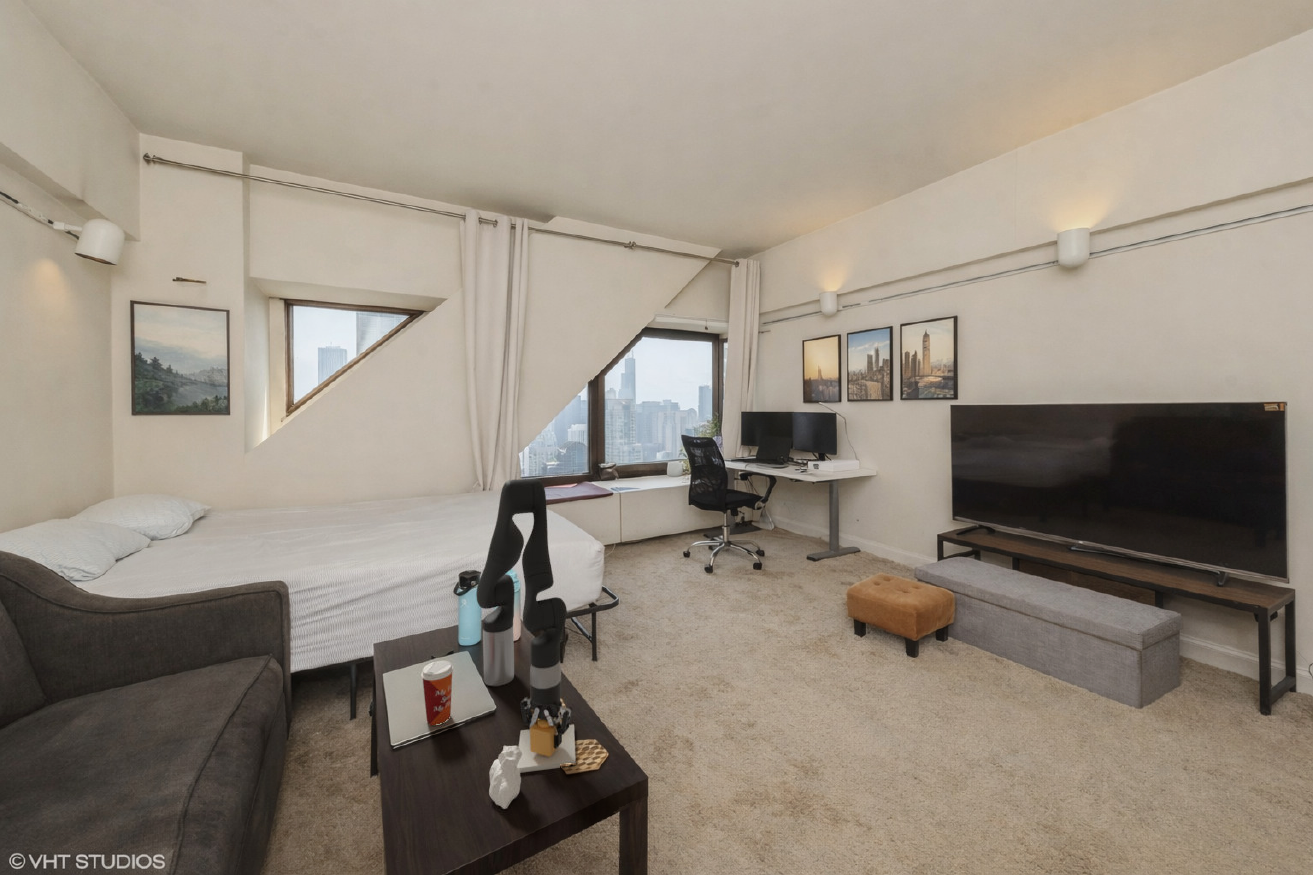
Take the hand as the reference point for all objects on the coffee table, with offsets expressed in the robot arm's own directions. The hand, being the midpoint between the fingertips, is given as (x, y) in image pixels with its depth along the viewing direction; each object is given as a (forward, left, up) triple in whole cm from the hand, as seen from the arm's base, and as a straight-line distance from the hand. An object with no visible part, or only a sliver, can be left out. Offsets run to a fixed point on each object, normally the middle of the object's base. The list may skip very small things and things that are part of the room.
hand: (546, 743), depth 125 cm
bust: (+11, -9, -3) cm, 14 cm away
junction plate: (-2, 0, -3) cm, 4 cm away
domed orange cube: (0, 0, -1) cm, 1 cm away
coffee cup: (-20, -30, -3) cm, 36 cm away
